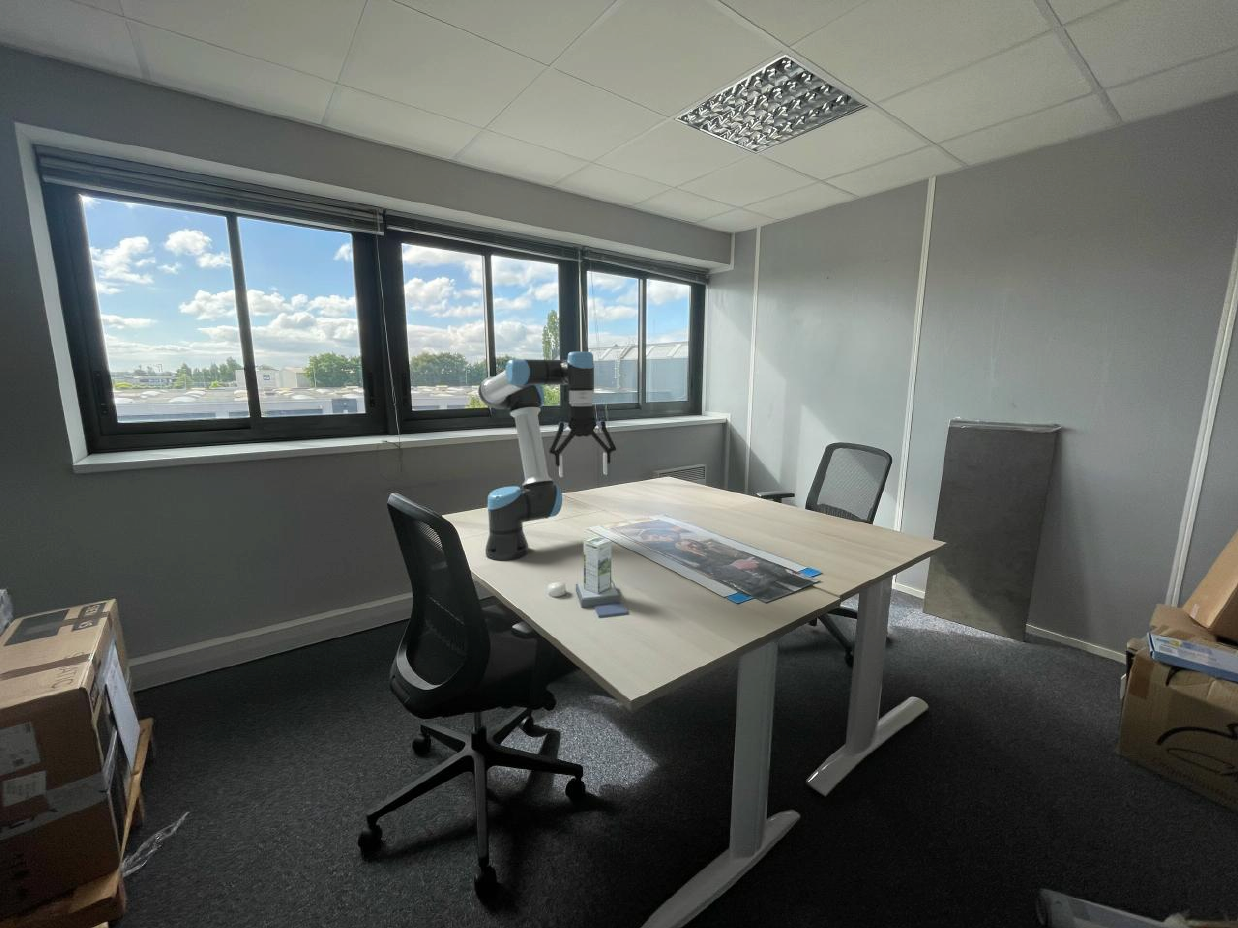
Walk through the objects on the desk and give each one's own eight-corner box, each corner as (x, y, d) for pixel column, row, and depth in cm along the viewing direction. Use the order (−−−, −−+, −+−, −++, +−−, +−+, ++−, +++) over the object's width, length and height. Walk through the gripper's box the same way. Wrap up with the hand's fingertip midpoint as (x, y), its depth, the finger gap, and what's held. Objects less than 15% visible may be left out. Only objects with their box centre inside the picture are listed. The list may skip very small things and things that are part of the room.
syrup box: (597, 582, 143) (596, 535, 140) (612, 588, 139) (611, 539, 136) (583, 588, 138) (582, 540, 136) (598, 594, 135) (597, 545, 132)
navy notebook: (595, 610, 132) (595, 606, 132) (623, 607, 134) (623, 603, 134) (598, 619, 127) (598, 615, 127) (628, 615, 129) (628, 611, 129)
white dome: (551, 598, 138) (550, 589, 138) (546, 592, 143) (545, 584, 142) (568, 594, 140) (567, 585, 140) (562, 588, 145) (562, 580, 144)
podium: (575, 590, 143) (575, 582, 143) (612, 586, 146) (612, 578, 145) (581, 607, 133) (581, 599, 132) (620, 603, 135) (620, 594, 135)
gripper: (540, 406, 137) (542, 479, 141) (625, 404, 143) (626, 475, 147) (538, 405, 144) (541, 475, 148) (619, 403, 150) (620, 470, 154)
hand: (583, 475), depth 147 cm, fingers open, 13 cm apart
